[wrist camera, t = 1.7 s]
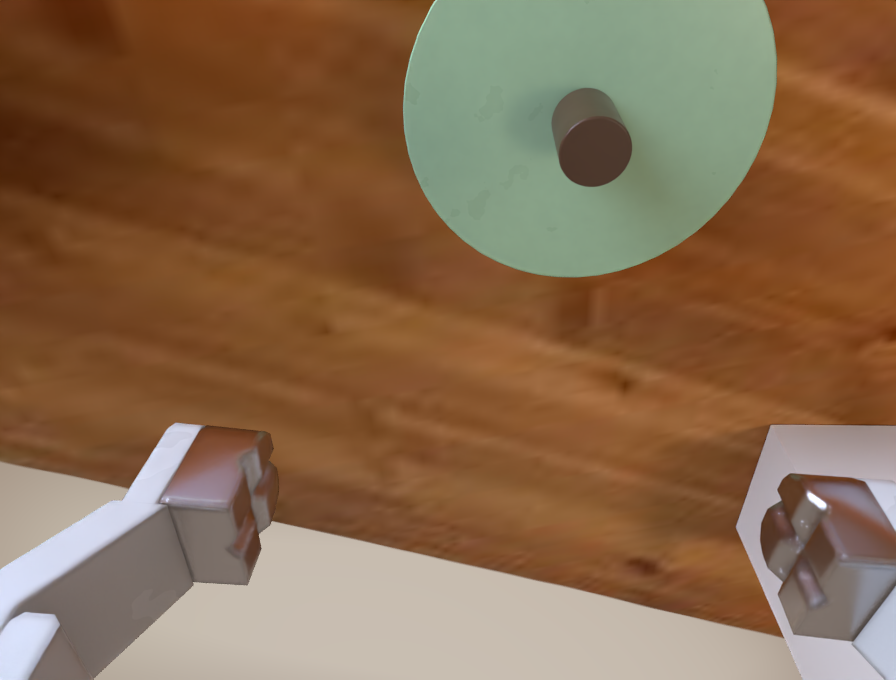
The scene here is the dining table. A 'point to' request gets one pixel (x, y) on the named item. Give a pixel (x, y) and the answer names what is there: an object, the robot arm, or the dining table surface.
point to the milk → (785, 451)
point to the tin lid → (586, 123)
